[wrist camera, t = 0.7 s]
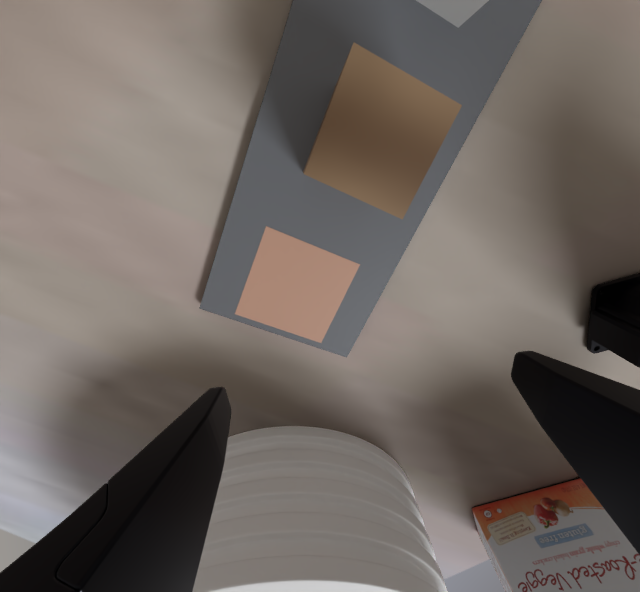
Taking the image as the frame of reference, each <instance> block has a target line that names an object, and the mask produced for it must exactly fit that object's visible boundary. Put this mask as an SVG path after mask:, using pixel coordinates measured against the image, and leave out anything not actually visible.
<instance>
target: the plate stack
mask: <svg viewBox="0 0 640 592" xmlns="http://www.w3.org/2000/svg"><path fill="white" fill-rule="evenodd" d="M192 592H448V591H447V588H446V585H445V582H444V579H443V576H442V574H441V571H440V568H439V566H438V564H437V563H436V558H435V553H434V550H433V548H432V545H431V542H430V539H429V536H428V534H427V532H426V530H425V525H424V522H423V519H422V516H421V513H420V510H419V507H418V505H417V503H416V500H415V496H414V493H413V490H412V487H411V484H410V482H409V479H408V477H407V475H406V474H405V472H404V471H403V469H402V468H401V467H400V465H399V464H398V463H397V462H396V461H395V460H394V459H393V458H392V457H391V456H389V455H388V454H387V453H386V452H384V451H383V450H381V449H380V448H378V447H377V446H375V445H373V444H371V443H369V442H367V441H365V440H363V439H361V438H358V437H356V436H353V435H350V434H346V433H343V432H339V431H335V430H330V429H325V428H318V427H307V426H280V427H270V428H262V429H256V430H251V431H247V432H243V433H239V434H236V435H233V436H230V437H228V440H227V448H226V455H225V461H224V467H223V471H222V475H221V479H220V483H219V487H218V491H217V495H216V499H215V503H214V507H213V511H212V515H211V519H210V523H209V527H208V531H207V535H206V539H205V543H204V547H203V551H202V555H201V559H200V563H199V567H198V571H197V575H196V579H195V583H194V587H193V591H192Z"/></svg>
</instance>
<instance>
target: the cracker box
mask: <svg viewBox="0 0 640 592" xmlns="http://www.w3.org/2000/svg"><path fill="white" fill-rule="evenodd" d="M472 511H473V515H474V519H475V522H476V526H477V530H478V534H479V536H480V539H481V541H482V543H483V545H484V547H485V549H486V552H487V554H488V556H489V558H490V560H491V562H492V564H493V566H494V568H495V571H496V572H497V575H498V577H499V579H500V581H501V583H502V585H503V587H504V589H505V592H640V555H639V554H638V552H637V551H636V550H635V549H634V547H633V546H632V545H631V543H630V542H629V541H628V539H627V538H626V537H625V535H624V534H623V533H622V532H621V530H620V529H619V528H618V526H617V525H616V524H615V522H614V521H613V520H612V518H611V517H610V516H609V515H608V513H607V512H606V511H605V509H604V508H603V507H602V505H601V504H600V503H599V501H598V500H597V499H596V498H595V496H594V495H593V494H592V492H591V491H590V490H589V488H588V487H587V486H586V484H585V483H584V482H583V481H582V479H581V478H579V479H576V480H572V481H569V482H565V483H561V484H558V485H554V486H551V487H547V488H543V489H539V490H536V491H532V492H529V493H525V494H521V495H518V496H514V497H511V498H507V499H503V500H499V501H496V502H492V503H488V504H485V505H481V506H477V507H474V508H472Z"/></svg>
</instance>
